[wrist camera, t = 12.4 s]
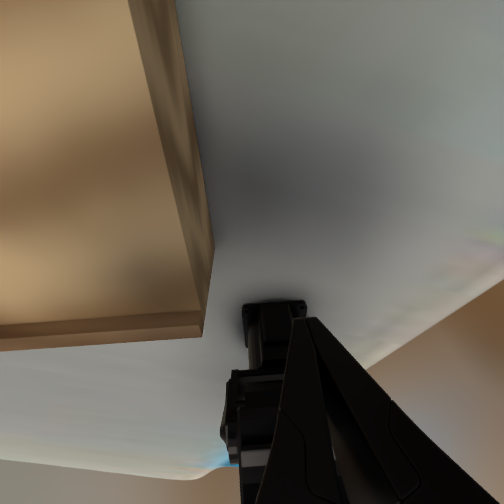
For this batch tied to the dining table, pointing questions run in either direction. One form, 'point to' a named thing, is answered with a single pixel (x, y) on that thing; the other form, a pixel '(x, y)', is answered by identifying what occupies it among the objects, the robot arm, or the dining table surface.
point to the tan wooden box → (98, 177)
